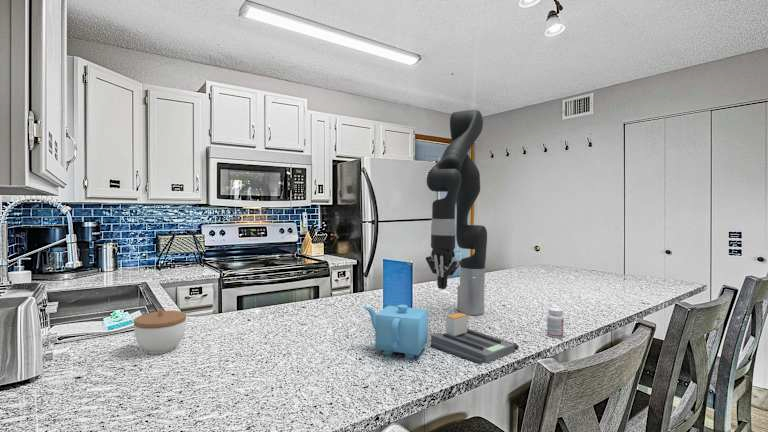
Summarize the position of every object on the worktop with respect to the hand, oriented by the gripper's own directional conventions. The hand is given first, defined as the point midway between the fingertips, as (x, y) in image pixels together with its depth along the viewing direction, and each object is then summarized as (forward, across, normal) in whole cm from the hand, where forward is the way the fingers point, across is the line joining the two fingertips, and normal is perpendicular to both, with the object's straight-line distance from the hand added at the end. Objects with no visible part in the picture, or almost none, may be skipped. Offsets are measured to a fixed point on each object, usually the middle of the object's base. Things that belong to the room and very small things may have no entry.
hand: (442, 288), depth 124 cm
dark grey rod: (+15, +12, +8) cm, 21 cm away
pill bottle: (+15, +22, +28) cm, 39 cm away
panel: (+15, +12, -1) cm, 19 cm away
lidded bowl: (+15, -40, -71) cm, 83 cm away
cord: (+15, +13, -9) cm, 22 cm away
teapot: (+15, 0, -20) cm, 25 cm away
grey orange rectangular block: (+12, +6, 0) cm, 14 cm away
